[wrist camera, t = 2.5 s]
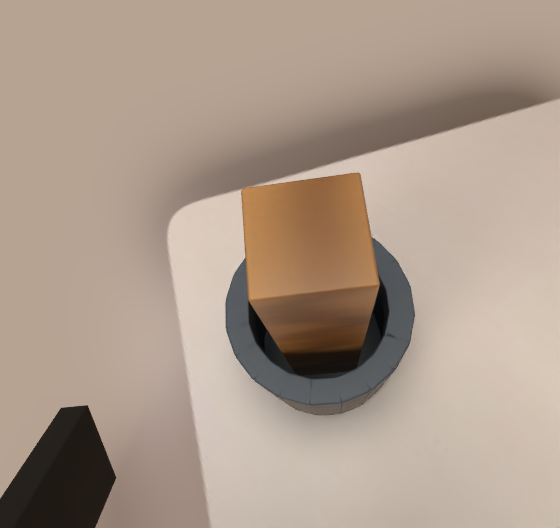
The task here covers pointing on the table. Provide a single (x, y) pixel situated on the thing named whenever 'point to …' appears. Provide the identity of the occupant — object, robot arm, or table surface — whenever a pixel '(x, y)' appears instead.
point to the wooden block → (311, 269)
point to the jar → (330, 386)
